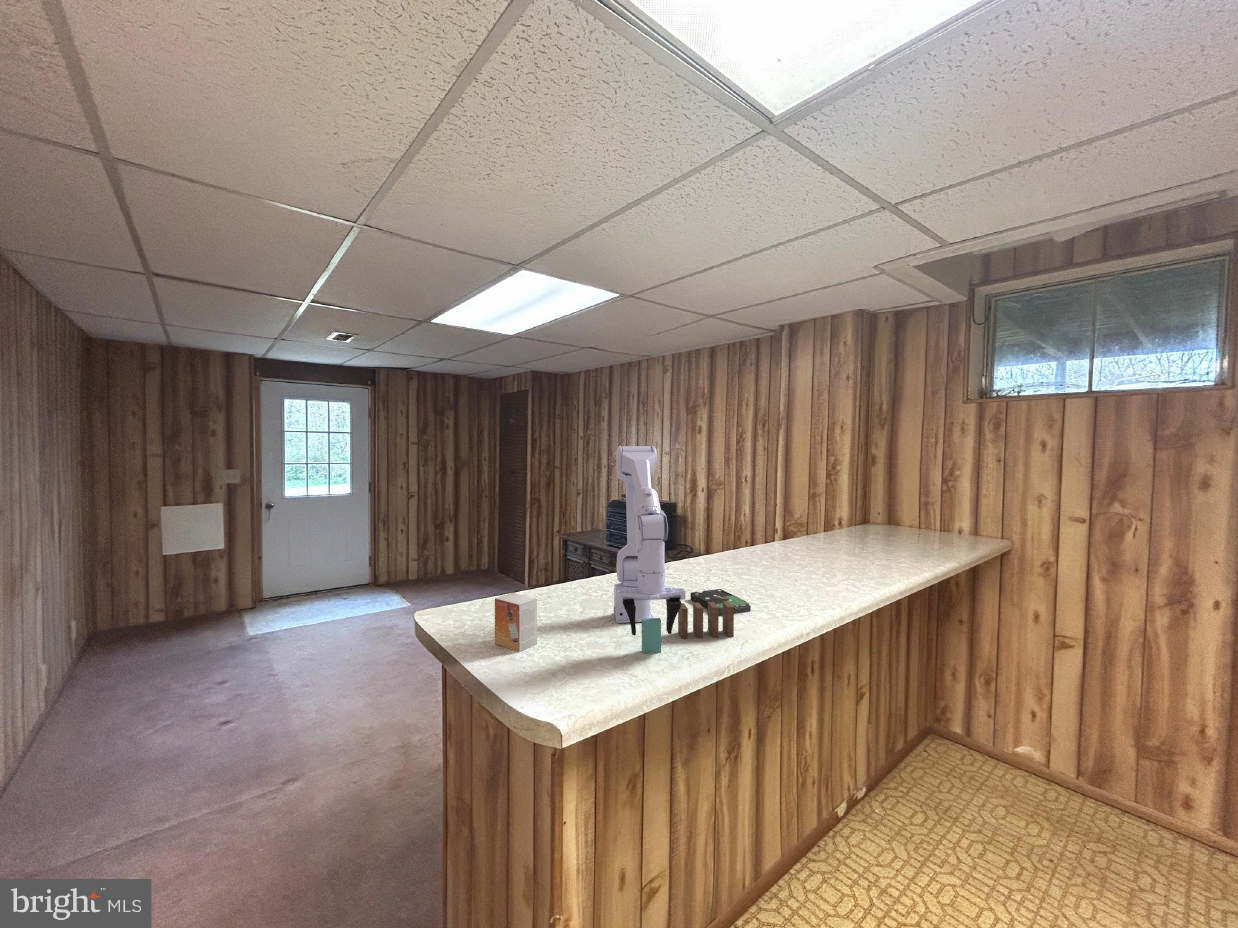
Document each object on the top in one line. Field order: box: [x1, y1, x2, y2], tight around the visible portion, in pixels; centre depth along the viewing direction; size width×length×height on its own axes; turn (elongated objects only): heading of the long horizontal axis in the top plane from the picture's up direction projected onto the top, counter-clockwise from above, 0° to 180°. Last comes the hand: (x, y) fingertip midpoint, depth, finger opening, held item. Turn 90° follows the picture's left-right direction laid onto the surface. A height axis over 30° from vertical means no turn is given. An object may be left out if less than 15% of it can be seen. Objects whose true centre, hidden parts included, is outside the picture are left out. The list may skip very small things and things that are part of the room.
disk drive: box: [689, 588, 752, 617], centre depth 137 cm, size 10×3×15 cm
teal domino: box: [641, 617, 662, 654], centre depth 107 cm, size 1×4×7 cm, turn 95°
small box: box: [494, 592, 538, 653], centre depth 111 cm, size 8×6×10 cm
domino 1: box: [677, 602, 689, 640], centre depth 116 cm, size 1×4×7 cm, turn 5°
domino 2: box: [692, 602, 704, 639], centre depth 116 cm, size 1×4×7 cm, turn 5°
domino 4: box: [722, 602, 735, 638], centre depth 117 cm, size 1×4×7 cm, turn 5°
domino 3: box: [707, 602, 720, 639], centre depth 116 cm, size 1×4×7 cm, turn 5°
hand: (651, 632), depth 107 cm, fingers open, 7 cm apart
